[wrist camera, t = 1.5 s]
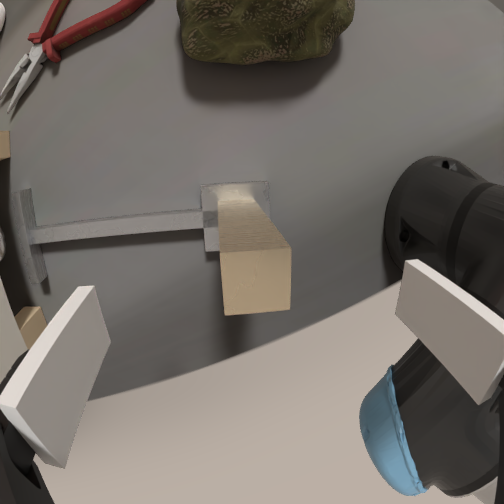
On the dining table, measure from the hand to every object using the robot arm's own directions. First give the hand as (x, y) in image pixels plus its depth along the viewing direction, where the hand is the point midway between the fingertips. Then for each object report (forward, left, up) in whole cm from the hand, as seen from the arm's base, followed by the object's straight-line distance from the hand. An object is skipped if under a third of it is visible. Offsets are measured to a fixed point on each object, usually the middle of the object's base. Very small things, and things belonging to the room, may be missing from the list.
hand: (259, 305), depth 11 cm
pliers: (+28, -9, -18) cm, 34 cm away
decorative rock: (+9, -18, -18) cm, 27 cm away
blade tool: (+8, +6, -17) cm, 20 cm away
